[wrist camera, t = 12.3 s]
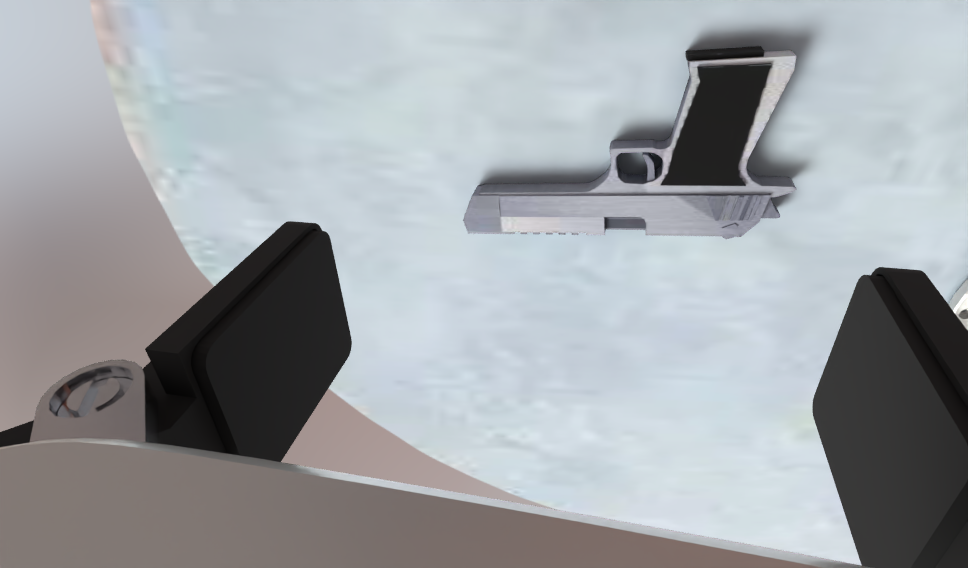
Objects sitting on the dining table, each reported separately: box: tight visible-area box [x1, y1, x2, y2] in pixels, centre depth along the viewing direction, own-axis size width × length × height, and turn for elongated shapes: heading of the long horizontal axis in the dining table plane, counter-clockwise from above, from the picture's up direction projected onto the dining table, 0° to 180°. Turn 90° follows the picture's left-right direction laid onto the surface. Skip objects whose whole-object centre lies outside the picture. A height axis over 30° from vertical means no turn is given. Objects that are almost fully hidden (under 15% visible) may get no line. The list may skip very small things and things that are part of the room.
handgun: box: [463, 46, 796, 239], centre depth 39 cm, size 2×22×12 cm
